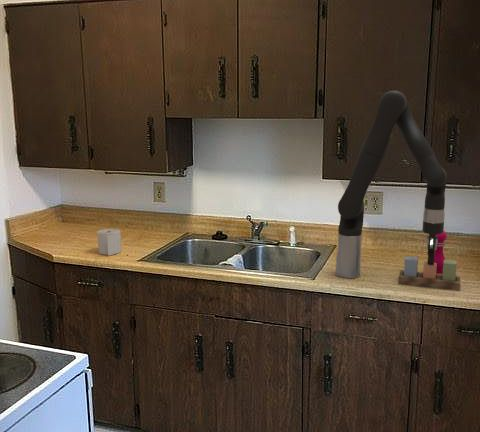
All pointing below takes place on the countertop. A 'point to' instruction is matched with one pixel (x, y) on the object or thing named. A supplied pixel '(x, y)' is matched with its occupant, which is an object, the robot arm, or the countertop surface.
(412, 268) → the slate block
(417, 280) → the walnut board
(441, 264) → the pepper mill
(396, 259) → the countertop surface
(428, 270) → the terracotta block
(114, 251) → the light grey block
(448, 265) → the olive block
